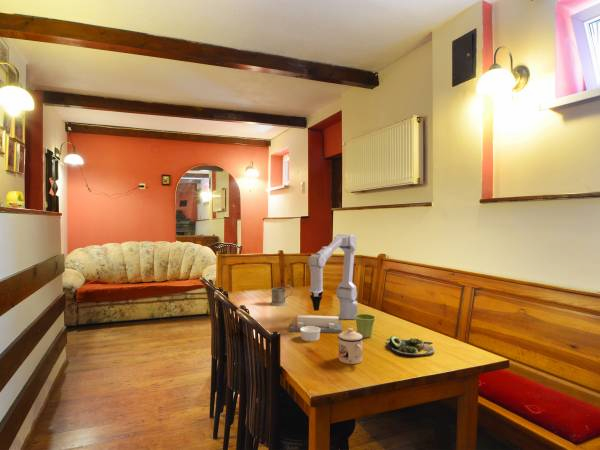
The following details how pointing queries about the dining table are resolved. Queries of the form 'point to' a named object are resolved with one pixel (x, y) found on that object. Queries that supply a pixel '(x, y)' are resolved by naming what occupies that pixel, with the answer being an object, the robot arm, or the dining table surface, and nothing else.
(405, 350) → the salad plate
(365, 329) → the plant pot
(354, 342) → the teacup with lid
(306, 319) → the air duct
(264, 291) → the dining table surface
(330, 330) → the collar stand
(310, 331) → the ramekin
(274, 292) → the mug
